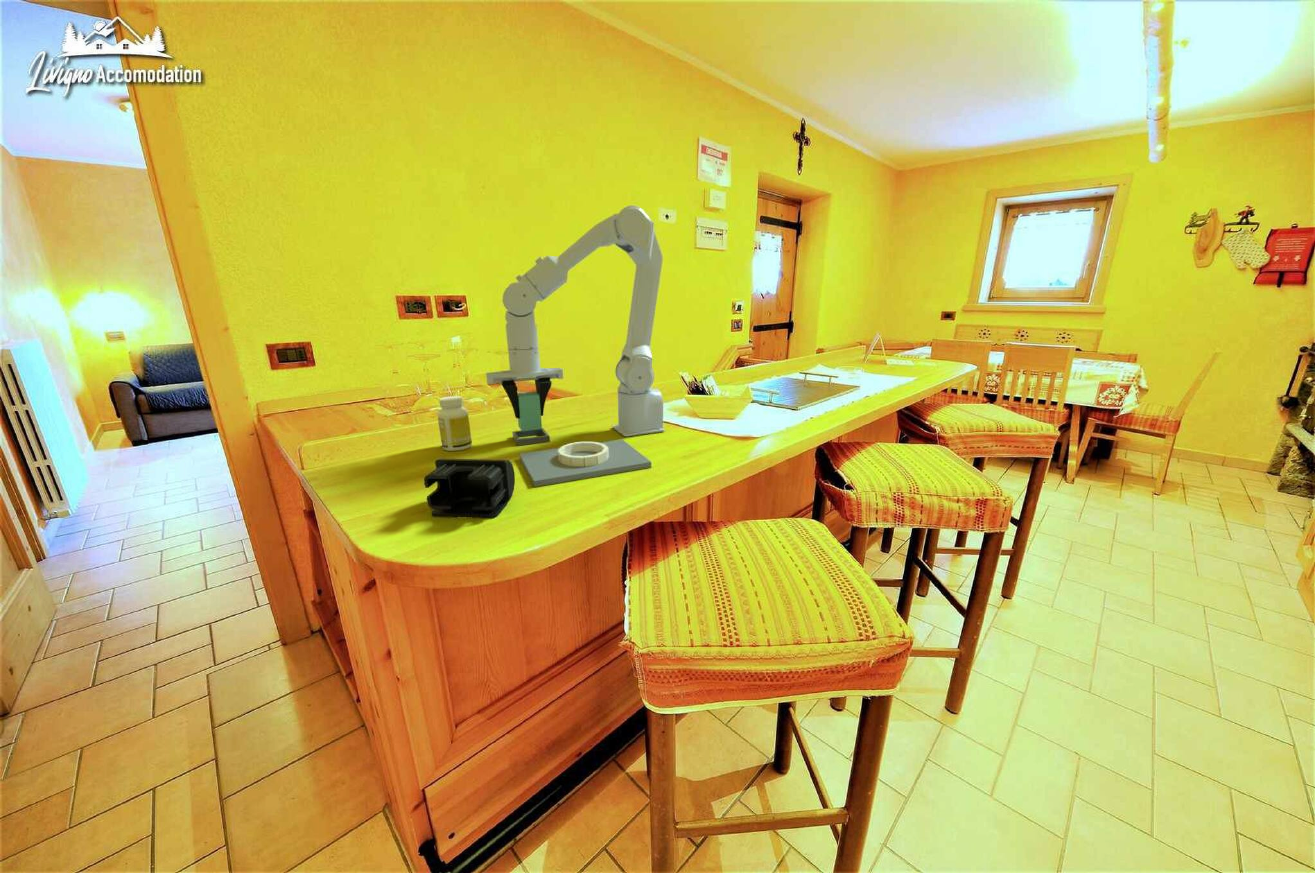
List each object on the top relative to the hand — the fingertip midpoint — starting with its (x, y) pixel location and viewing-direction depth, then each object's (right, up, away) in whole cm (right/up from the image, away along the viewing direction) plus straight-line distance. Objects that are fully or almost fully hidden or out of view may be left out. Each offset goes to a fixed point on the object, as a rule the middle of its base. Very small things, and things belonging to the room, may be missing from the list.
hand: (529, 416), depth 92 cm
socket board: (+13, -9, -12) cm, 20 cm away
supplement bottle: (-13, -6, -3) cm, 15 cm away
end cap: (0, -14, -28) cm, 31 cm away
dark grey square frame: (0, -5, +2) cm, 5 cm away
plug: (0, -2, +1) cm, 2 cm away
